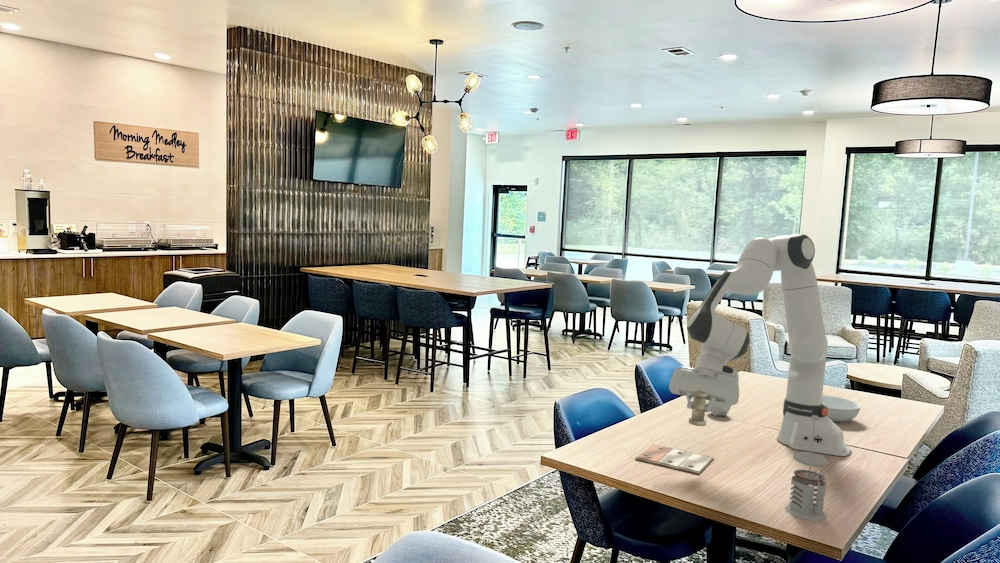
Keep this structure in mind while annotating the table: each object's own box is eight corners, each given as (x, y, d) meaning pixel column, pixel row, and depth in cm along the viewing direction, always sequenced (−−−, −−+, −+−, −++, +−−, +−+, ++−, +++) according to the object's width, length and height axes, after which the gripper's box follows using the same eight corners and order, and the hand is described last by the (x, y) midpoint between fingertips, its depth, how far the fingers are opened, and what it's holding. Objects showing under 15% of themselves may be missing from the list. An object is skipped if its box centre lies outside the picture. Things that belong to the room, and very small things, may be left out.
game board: (713, 459, 210) (714, 456, 210) (699, 474, 195) (699, 472, 195) (653, 445, 219) (653, 443, 219) (635, 459, 205) (635, 457, 205)
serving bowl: (789, 415, 267) (791, 398, 267) (813, 408, 281) (815, 392, 281) (845, 429, 252) (847, 411, 251) (867, 421, 266) (869, 404, 265)
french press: (815, 505, 178) (824, 410, 176) (838, 524, 166) (849, 424, 164) (777, 503, 178) (786, 408, 176) (798, 523, 166) (808, 422, 164)
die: (729, 421, 257) (739, 399, 260) (709, 408, 256) (720, 386, 260) (718, 422, 264) (727, 401, 268) (699, 410, 264) (709, 389, 267)
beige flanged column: (707, 423, 204) (710, 392, 203) (703, 427, 200) (706, 395, 199) (691, 419, 206) (693, 389, 205) (686, 423, 202) (689, 392, 201)
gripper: (674, 359, 213) (661, 396, 205) (742, 371, 202) (732, 410, 195) (676, 371, 217) (664, 408, 209) (744, 383, 207) (734, 422, 199)
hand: (698, 409), depth 202 cm, fingers closed on beige flanged column, 4 cm apart
